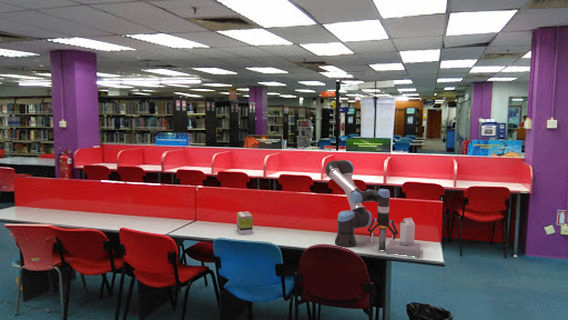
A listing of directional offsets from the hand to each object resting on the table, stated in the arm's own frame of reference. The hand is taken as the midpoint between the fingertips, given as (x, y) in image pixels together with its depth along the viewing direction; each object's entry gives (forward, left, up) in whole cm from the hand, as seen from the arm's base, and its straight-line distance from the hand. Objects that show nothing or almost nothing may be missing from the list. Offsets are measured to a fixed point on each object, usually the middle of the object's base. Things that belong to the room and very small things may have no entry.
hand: (382, 242), depth 264 cm
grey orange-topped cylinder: (0, 0, -5) cm, 5 cm away
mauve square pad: (+14, +3, -5) cm, 15 cm away
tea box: (-106, +3, -6) cm, 106 cm away
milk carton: (+15, +22, -5) cm, 27 cm away
